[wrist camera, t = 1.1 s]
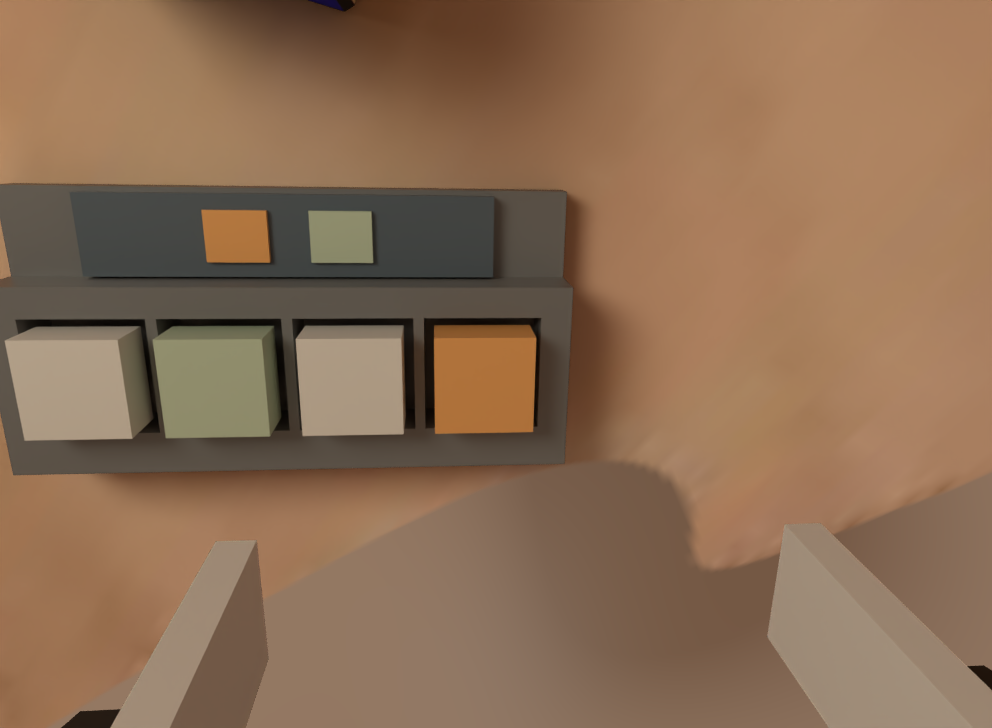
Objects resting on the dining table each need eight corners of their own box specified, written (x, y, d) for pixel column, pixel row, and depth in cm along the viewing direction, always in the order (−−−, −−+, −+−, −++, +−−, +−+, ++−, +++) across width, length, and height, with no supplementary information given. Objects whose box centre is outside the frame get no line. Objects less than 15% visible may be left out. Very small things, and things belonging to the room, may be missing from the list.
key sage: (184, 418, 28) (165, 438, 26) (173, 326, 27) (152, 339, 25) (281, 417, 28) (269, 436, 26) (274, 325, 27) (261, 339, 25)
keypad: (59, 439, 31) (13, 475, 27) (12, 183, 27) (-47, 187, 24) (551, 431, 32) (564, 463, 29) (561, 190, 29) (577, 195, 26)
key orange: (435, 414, 29) (435, 433, 27) (434, 325, 27) (434, 338, 25) (526, 413, 29) (532, 432, 27) (529, 324, 28) (536, 337, 26)
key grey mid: (311, 416, 28) (302, 435, 26) (305, 325, 27) (295, 338, 25) (405, 415, 28) (403, 434, 27) (403, 325, 27) (401, 338, 25)
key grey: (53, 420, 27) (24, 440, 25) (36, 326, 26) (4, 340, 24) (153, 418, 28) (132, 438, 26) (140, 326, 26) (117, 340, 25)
